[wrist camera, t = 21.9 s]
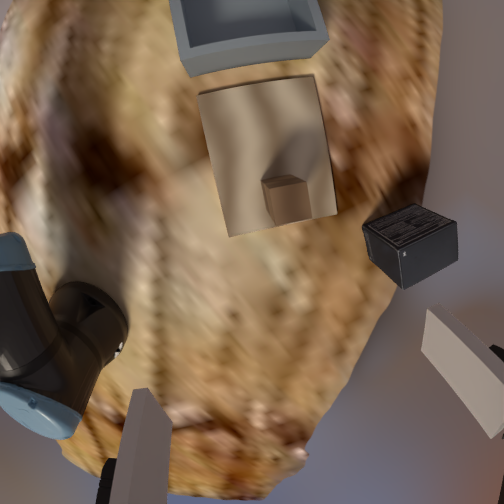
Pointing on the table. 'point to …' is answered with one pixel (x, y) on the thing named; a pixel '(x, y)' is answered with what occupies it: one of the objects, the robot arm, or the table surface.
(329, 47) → the table surface
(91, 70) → the table surface
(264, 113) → the board with wooden block
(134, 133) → the table surface
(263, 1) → the toolbox
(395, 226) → the small box
